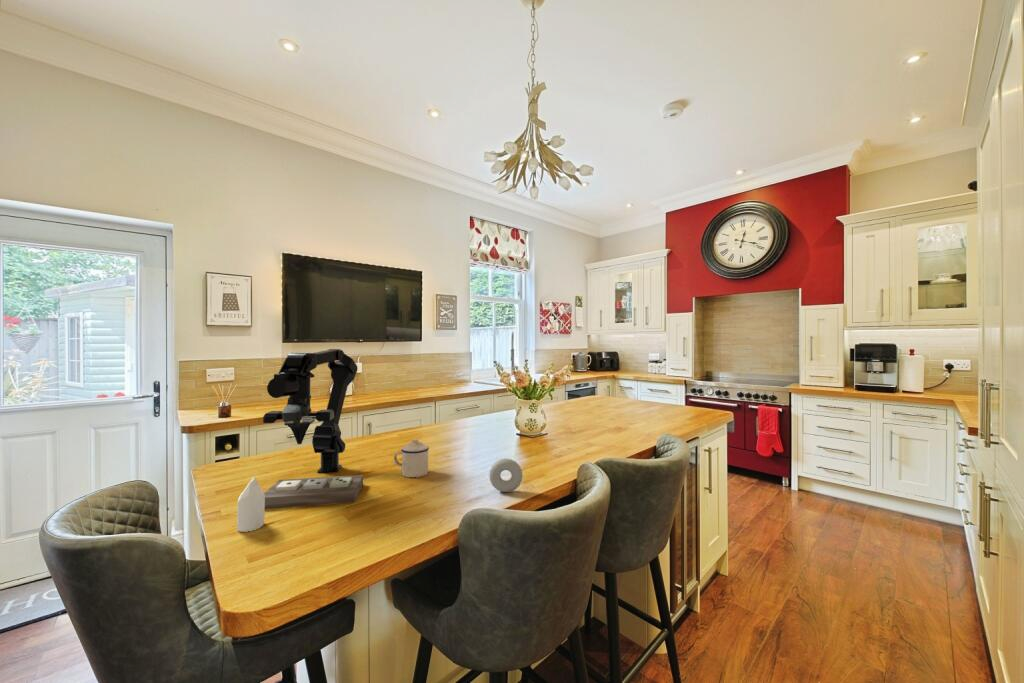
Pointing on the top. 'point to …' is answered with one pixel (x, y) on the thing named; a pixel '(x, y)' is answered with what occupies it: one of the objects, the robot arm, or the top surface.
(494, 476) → the donut
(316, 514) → the top surface
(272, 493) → the grey tray with tiles
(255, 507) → the white pointed wedge
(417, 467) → the teacup with lid
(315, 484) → the tile two
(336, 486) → the tile three
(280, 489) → the tile one
